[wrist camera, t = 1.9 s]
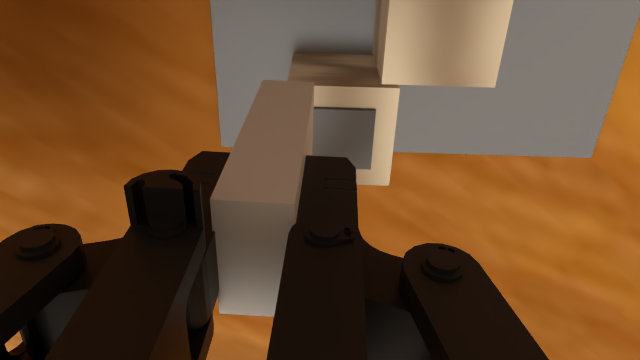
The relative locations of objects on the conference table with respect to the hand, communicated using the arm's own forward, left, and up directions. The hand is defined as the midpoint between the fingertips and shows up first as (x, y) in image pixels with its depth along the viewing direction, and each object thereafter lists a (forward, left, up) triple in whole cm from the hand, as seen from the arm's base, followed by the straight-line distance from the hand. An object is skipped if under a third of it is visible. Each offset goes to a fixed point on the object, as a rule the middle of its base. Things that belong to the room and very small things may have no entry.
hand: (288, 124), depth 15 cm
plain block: (+7, 0, -18) cm, 19 cm away
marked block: (+2, -6, -18) cm, 19 cm away
